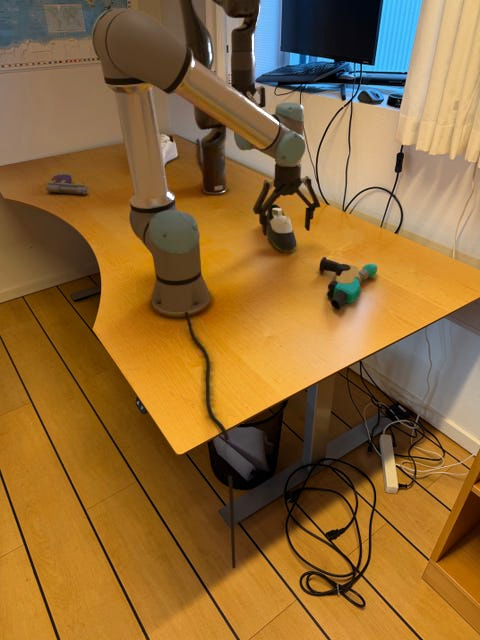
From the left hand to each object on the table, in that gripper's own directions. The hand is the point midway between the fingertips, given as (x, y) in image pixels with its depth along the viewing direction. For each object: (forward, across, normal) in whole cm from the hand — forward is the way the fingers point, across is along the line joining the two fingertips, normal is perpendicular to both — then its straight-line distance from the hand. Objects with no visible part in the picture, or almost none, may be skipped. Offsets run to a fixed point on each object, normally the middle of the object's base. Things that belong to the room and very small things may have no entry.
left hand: (285, 231), depth 147 cm
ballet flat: (+6, 0, -8) cm, 9 cm away
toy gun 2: (+5, -8, +27) cm, 28 cm away
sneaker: (+5, +36, -91) cm, 98 cm away
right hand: (-25, +6, -33) cm, 42 cm away
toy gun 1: (+4, +72, -67) cm, 98 cm away
